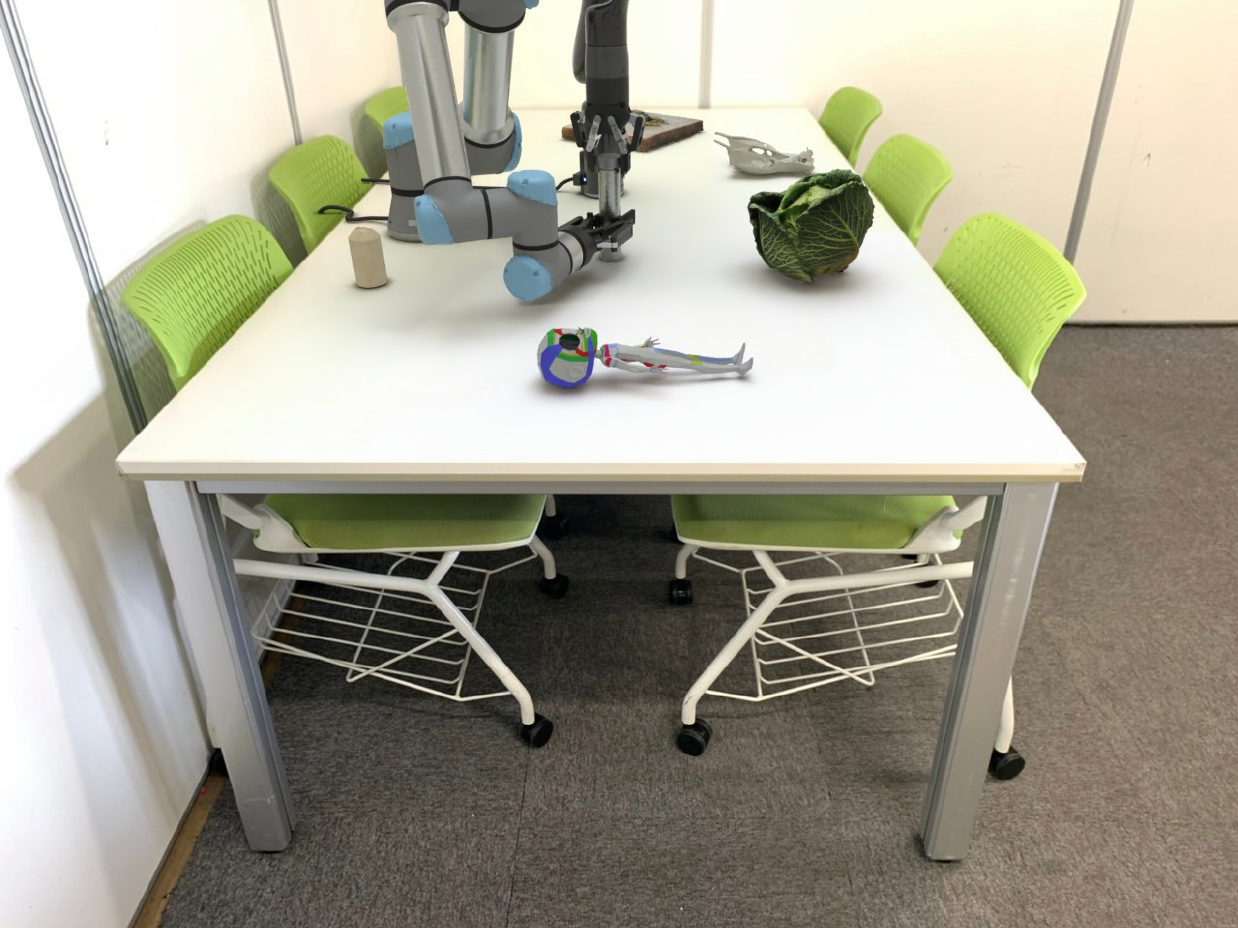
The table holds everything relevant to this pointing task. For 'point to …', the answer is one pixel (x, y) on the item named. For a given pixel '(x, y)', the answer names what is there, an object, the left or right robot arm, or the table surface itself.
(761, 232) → the vegetable
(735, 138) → the anatomical model
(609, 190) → the grey long cylinder
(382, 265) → the candle
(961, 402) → the table surface
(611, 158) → the lid
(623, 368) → the toy
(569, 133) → the plaque
